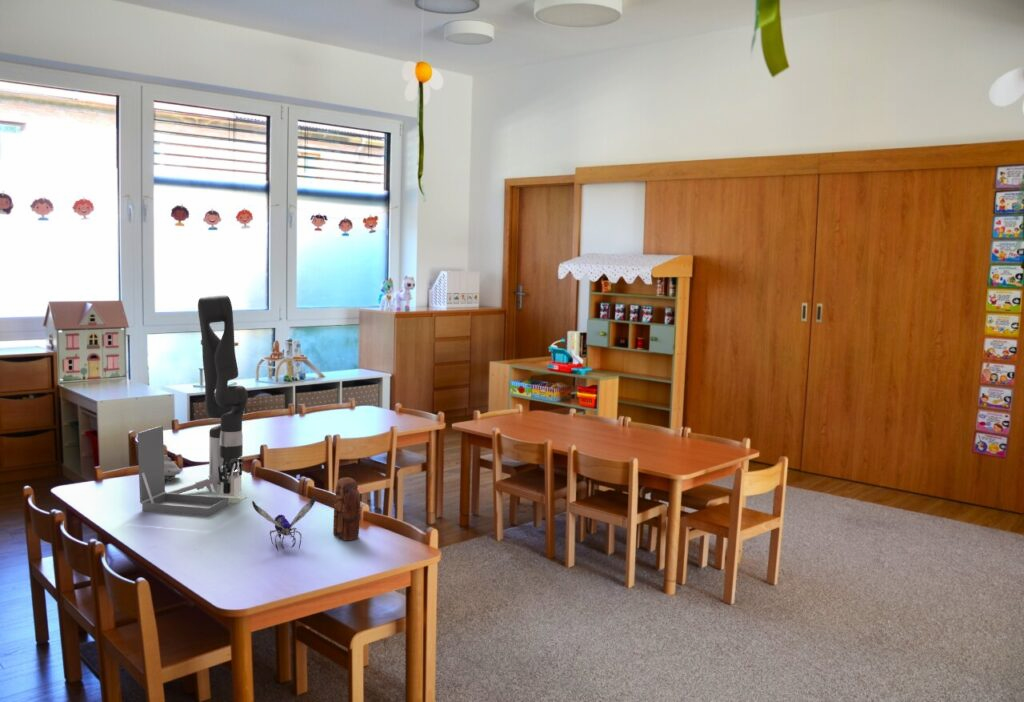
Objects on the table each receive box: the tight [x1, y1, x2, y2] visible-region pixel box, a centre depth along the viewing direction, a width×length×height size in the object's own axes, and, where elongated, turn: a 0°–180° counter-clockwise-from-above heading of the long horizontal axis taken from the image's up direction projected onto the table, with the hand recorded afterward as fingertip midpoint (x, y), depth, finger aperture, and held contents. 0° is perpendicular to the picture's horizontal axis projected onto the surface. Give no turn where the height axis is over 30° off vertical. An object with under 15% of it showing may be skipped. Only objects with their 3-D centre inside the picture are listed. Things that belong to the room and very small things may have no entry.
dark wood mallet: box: [332, 476, 361, 541], centre depth 251 cm, size 12×6×18 cm, turn 37°
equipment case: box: [137, 425, 229, 517], centre depth 271 cm, size 13×25×26 cm, turn 82°
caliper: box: [166, 475, 218, 494], centre depth 289 cm, size 21×1×6 cm, turn 129°
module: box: [220, 475, 242, 496], centre depth 284 cm, size 5×5×6 cm
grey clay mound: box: [164, 454, 183, 481], centre depth 308 cm, size 12×12×11 cm
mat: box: [222, 495, 248, 504], centre depth 284 cm, size 8×8×1 cm
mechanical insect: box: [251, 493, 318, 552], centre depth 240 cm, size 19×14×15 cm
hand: (230, 491), depth 284 cm, fingers closed on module, 5 cm apart
